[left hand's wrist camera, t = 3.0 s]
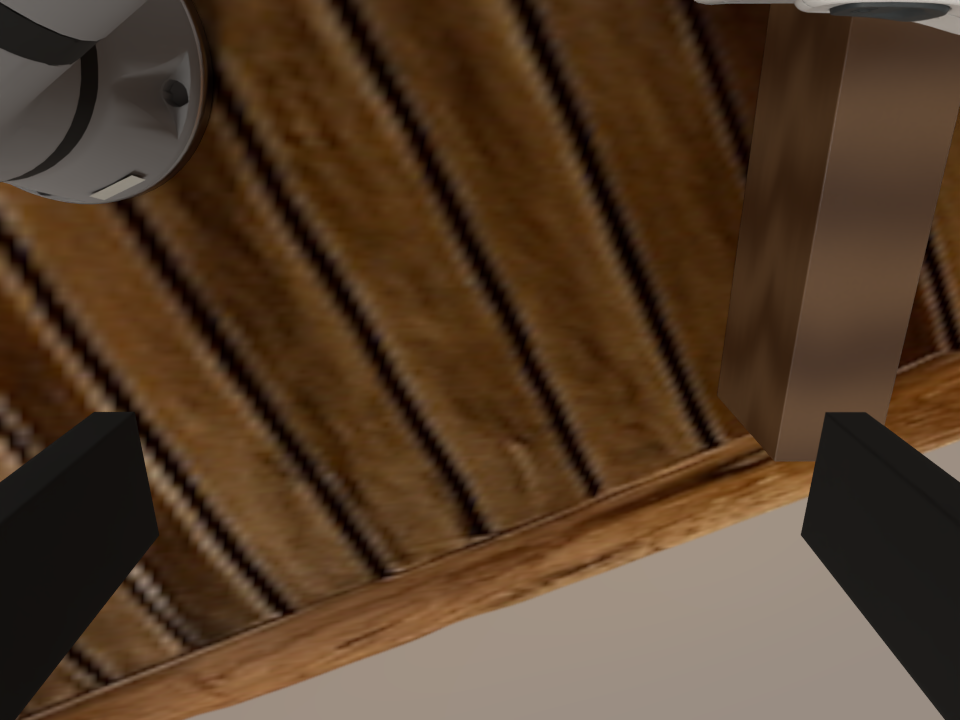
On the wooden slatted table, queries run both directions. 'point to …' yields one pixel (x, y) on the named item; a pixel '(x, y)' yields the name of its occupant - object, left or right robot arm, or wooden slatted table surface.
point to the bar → (834, 219)
